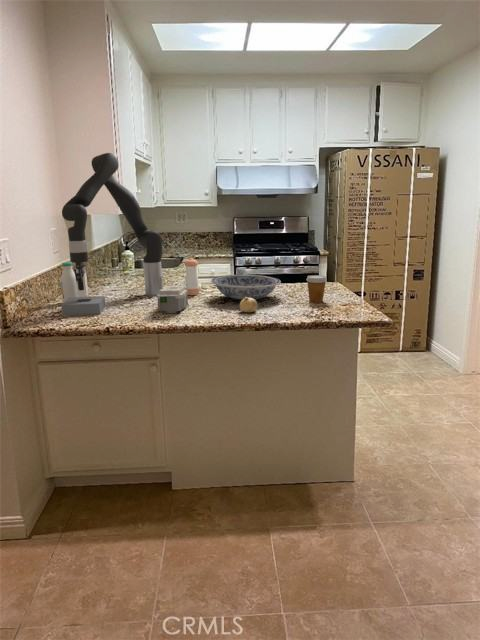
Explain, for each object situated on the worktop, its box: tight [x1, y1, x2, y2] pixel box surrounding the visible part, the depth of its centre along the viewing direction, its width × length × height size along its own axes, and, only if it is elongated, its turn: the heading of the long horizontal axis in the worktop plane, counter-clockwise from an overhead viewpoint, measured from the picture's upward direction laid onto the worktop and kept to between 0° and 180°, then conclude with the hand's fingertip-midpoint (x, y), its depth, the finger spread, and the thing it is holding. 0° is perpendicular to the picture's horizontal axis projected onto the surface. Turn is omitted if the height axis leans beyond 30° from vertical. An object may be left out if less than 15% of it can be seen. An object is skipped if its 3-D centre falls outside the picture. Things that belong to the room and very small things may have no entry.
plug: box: [75, 268, 89, 297], centre depth 205 cm, size 4×4×12 cm
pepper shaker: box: [183, 257, 200, 296], centre depth 239 cm, size 7×7×19 cm
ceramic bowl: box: [210, 274, 282, 301], centre depth 227 cm, size 34×34×10 cm
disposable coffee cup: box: [305, 274, 327, 304], centre depth 218 cm, size 10×10×12 cm
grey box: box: [156, 285, 189, 314], centre depth 209 cm, size 12×28×10 cm, turn 178°
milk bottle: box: [60, 261, 77, 304], centre depth 224 cm, size 8×8×20 cm
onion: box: [239, 297, 259, 313], centre depth 201 cm, size 8×8×7 cm
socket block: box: [61, 295, 106, 317], centre depth 208 cm, size 16×16×5 cm
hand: (82, 289), depth 206 cm, fingers closed on plug, 4 cm apart
